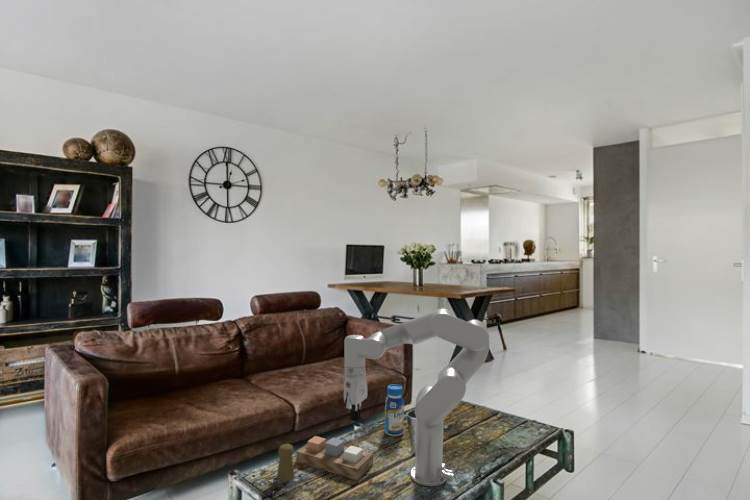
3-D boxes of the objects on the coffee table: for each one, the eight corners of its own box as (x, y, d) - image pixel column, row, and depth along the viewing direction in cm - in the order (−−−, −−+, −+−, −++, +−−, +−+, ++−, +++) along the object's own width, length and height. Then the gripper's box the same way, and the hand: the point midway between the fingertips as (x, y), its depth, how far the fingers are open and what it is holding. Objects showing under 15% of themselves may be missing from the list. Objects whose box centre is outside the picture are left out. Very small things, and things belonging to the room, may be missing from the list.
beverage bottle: (392, 426, 192) (392, 382, 191) (407, 431, 187) (408, 386, 186) (380, 432, 185) (381, 386, 185) (396, 438, 180) (397, 391, 179)
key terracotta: (325, 451, 164) (326, 438, 164) (318, 457, 160) (318, 444, 160) (315, 448, 166) (315, 435, 166) (307, 453, 162) (307, 441, 162)
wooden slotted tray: (372, 464, 159) (373, 453, 159) (357, 480, 148) (357, 468, 148) (314, 448, 171) (314, 438, 171) (296, 461, 160) (296, 451, 160)
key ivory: (362, 461, 157) (362, 448, 157) (355, 468, 153) (356, 454, 152) (350, 458, 159) (350, 445, 159) (343, 464, 155) (344, 451, 155)
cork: (287, 470, 154) (287, 440, 154) (298, 476, 150) (298, 445, 150) (273, 477, 149) (273, 446, 149) (284, 483, 146) (284, 451, 145)
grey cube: (343, 453, 161) (344, 440, 160) (336, 459, 156) (337, 446, 156) (332, 450, 163) (332, 437, 163) (325, 455, 158) (325, 443, 158)
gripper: (353, 377, 147) (354, 430, 147) (373, 365, 160) (373, 414, 160) (335, 374, 150) (335, 426, 150) (356, 363, 163) (356, 411, 164)
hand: (355, 420), depth 155 cm, fingers closed
